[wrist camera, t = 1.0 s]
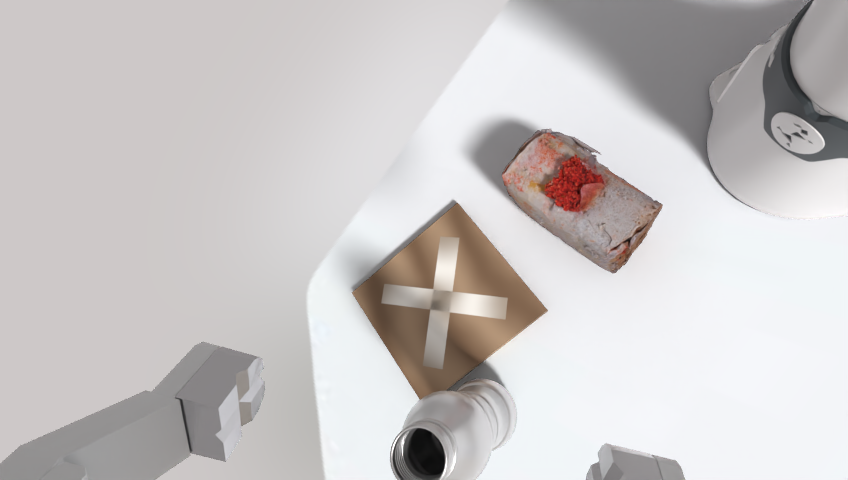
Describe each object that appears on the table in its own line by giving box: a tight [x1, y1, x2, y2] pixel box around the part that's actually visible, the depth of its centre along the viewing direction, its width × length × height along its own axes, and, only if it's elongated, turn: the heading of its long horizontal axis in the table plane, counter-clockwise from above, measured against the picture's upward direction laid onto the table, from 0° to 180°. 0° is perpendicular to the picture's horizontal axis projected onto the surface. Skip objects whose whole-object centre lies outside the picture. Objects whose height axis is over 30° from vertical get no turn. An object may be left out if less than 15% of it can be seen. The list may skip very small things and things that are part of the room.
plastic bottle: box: [390, 379, 517, 480], centre depth 35 cm, size 6×7×20 cm
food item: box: [502, 129, 662, 273], centre depth 41 cm, size 14×8×10 cm, turn 48°
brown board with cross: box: [352, 203, 548, 400], centre depth 48 cm, size 16×15×1 cm
